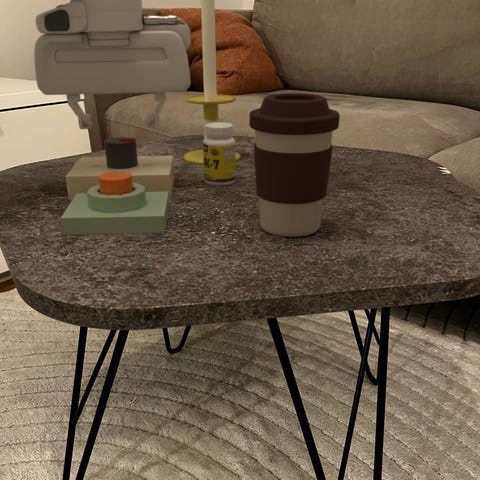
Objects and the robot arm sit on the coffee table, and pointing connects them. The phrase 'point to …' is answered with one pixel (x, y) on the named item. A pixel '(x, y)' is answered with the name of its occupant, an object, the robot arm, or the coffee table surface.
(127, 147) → the knob
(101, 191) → the power button
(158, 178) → the panel
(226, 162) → the supplement bottle
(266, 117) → the coffee cup
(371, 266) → the coffee table surface
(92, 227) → the button housing
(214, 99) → the candle
